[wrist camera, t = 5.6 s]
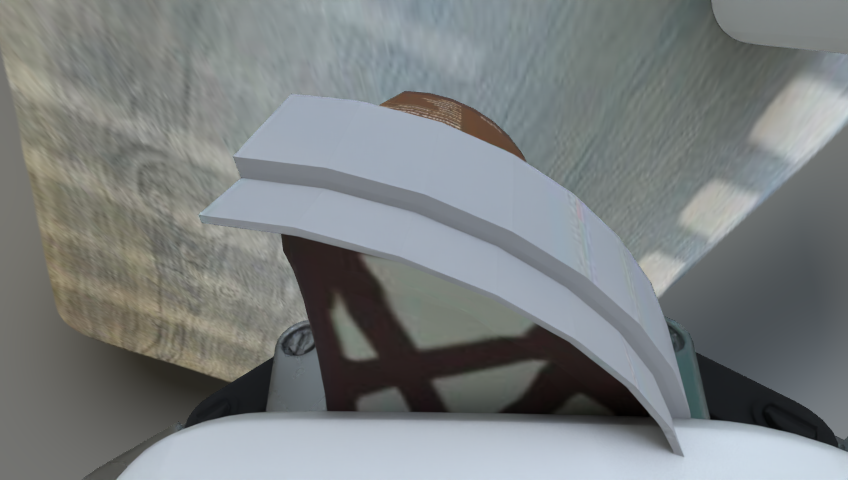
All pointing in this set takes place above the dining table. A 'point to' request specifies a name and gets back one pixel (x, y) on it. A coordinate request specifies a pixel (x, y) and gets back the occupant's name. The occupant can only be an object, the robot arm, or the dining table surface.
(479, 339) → the food container
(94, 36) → the dining table surface
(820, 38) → the cylindrical container
